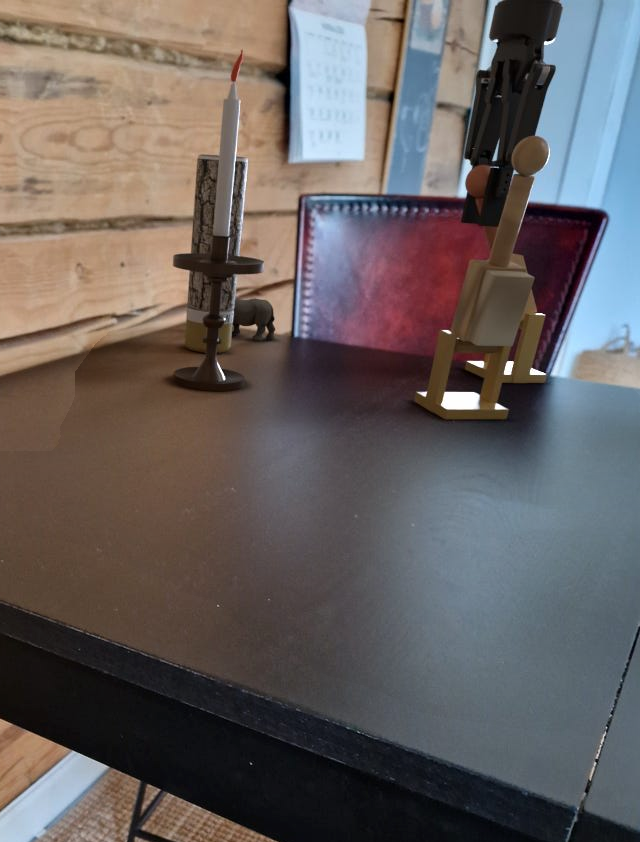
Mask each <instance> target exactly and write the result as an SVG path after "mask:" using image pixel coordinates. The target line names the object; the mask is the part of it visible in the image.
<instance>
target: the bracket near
mask: <svg viewBox="0 0 640 842" xmlns="http://www.w3.org/2000/svg"><path fill="white" fill-rule="evenodd" d="M456 339H457V334H456V333H453V332H451V330H448V329H440V330H439V332H438V338H437V342H436V347H435V351H434V356H433V362H432V367H431V371H430V375H429V380H428V384H427V390H426V391H415V394H414V395H415V396H414V398H413V399H414V400H413V402H414V403H416V404H418V405H419V406H421V407H423V408H424V409H425V410H427V411H428V412H431V413H433V414H435V415H437V416H439V417H440V418H442V419H443V420H507V418H508V414H509V408H507V407H505V406H503V405H501V404H499V403H498V400H499V396H500V393H501V389H502V384H503V383H502V381H503V377H504V373H505V369H506V365H507V362H509V356H510V353H511V348H512V346H498V349H497V351H496V352H495V353H493V354H490V357H489V361H488V365H487V369H486V373H485V378H483V382H482V386H481V391H480V394H479V393H477V392H475V391H446V388H447V383H448V380H449V375H450V370H451V366H452V361H453V356H454V353H453V352H454V348H455V343H456Z"/></svg>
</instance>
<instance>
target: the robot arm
mask: <svg viewBox="0 0 640 842" xmlns="http://www.w3.org/2000/svg"><path fill="white" fill-rule="evenodd" d="M560 1H561V0H500V1H498V3H497V4H495V6H494V9H493V15H492V18H491V19H492V20H491V23H490V29H489V33H488V38H489V40H490V41H491V42H492V43H495V44H496V49H495V52H494V55H493V57H492V60H491V63H490V66H489V67H488V68H487V69H479V70H478V71H477V72H476V75H475V92H474V93H475V94H474V99H473V105H472V111H471V115H470V121H469V125H468V126H469V127H468V132H467V138H466V143H465V149H464V154H463V158H464V160H468V161H469V164H470V166H471V170H472V169H473V168H474V167H476V166H479V165H487V166H489V167H491V168H490V173H489V177H488V182H487V186H486V191H485V195H484V200H483V204H482V209H481V213H480V215H479V211H478V207H477V204H476V200H475V199H476V197H474V196H472V195H470V194H469V193H468V192H467V191H466V195H465V201H464V204H463V205H464V206H463V209H462V214H461V220H460V223H461V224H473V225H474V224H475V225H477V226H478V227H483V226H489V227H498V226H499V223H500V219H501V216H502V213H503V209H504V206H505V202H506V199H507V195H508V192H509V188H510V185H511V182H512V178H513V175H514V173H515V170H514V168H513V166H512V153H513V151H514V149H515V147H516V145H517V144H518V143H519V142H520V141H521V140H523V139H524V138H526V137H529V136H536V133H537V130H538V126H539V123H540V120H541V119H540V118H541V115H542V111H543V108H544V104H545V99H546V96H547V92H548V90H549V88H550V84H551V83H552V80H553V78H554V76H555V73H556V69H557V66H556V65H555V64H549V63H546V62H545V61H544V60H545V59H544V58H545V45H549V44H552V43H553V42H554V41H555V40H556V38H557V35H558V32H559V31H558V30H559V28H560V22H561V18H562V14H563V9H564V7H563V4H562V3H561V2H560ZM496 151H497V154H496V160H494V156H495V153H496Z"/></svg>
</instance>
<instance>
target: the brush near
mask: <svg viewBox="0 0 640 842" xmlns="http://www.w3.org/2000/svg"><path fill="white" fill-rule="evenodd" d="M549 158H550V146H549V144H548V142H547V141H546V139H545V138H543V137H542V136H539V135H535V136H529V137H526V138H524V139H523V140H521V141H520V142H519V143H518V144H517V145H516V147H515V149H514V151H513V153H512V166H513V168H514V172H516V173H513V176H512V180H511V184H510V188H509V192H508V195H507V199H506V202H505V206H504V209H503V213H502V216H501V219H500V223H499V226H498V230H497V233H496V237H495V240H494V244H493V247H492V250H491V254H490V253H489V258H488V259H489V261H488V259H470V260H469V263H468V267H467V270H466V274H465V278H464V281H463V284H462V288H461V291H460V295H459V299H458V302H457V306H456V309H455V313H454V316H453V320H452V324H451V327H450V331H451V332H453V333H456V334H457V339H456V343H455V348H454V352H453V354H485V353H489V354H493V353H495V352H496V351H497V349H498V346H511V347H513V346H514V343H515V339H516V337H517V334H518V331H519V329H520V328H519V325H520V322H521V319H522V316H523V313H524V309H525V306H526V303H527V300H528V297H529V294H530V291H531V289H532V287H533V284H534V281H535V279H536V278H535V276H533V275H531V274H529V273H528V272H527V273H528V274H527V273H525V272H526V269H527V267H526V268H524V267H522V266H520V265H518V264H516V263H514V262H512V261H510V259H511V256H512V253H513V252H514V249H515V245H516V243H517V239H518V236H519V233H520V229H521V226H522V223H523V219H524V217H525V213H526V211H527V210H526V209H527V206H528V204H529V199H530V197H531V192H532V190H533V186H534V183H535V180H536V176H534V175H536V174H539V172H541V171H542V170H543V169H544V167H546V165H547V163H548V161H549Z"/></svg>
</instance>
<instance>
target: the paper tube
mask: <svg viewBox="0 0 640 842" xmlns="http://www.w3.org/2000/svg"><path fill="white" fill-rule="evenodd" d="M218 165H219V154H203V153H202V154H198V156H197V159H196V172H195V185H194V188H195V189H194V201H193V218H192V231H191V245H190V253H206V254H211V242H212V236H209V235H206V234H204V233H213V228H214V215H215V202H216V190H217V177H218ZM248 166H249V159H248V157H245V156H236V159H235V171H234V182H233V193H232V205H231V216H230V228H229V234H232V235H237V236H236V237H230V238H229V249H228V255H234V256H240V253H241V252H240V251H241V241H242V240H241V239H242V230H243V219H244V210H245V209H244V208H245V200H246V189H247V177H248ZM188 274H189V275H188V289H187V303H186V305H187V306H186V320H185V335H184V345H185V347H186V348H187V349H188V350H190V351H193V352H196V353H197V352H198V353H203V354H206V343H203V342H202V339H203V338H206V333H207V327H205V326H204V324H203V321H202V319H203V317H204V316H205V315H207V314H209V306H210V293H211V282H210V281H208V280H206V277H205V276H204V275H202V274H201V272H196V271H189V273H188ZM237 283H238V275H236V274H235V276H234V277H231V278H228V281H227V282H224V283H222V293H221V305H220V315H222V316H223V317H224V318H225V323H224V325H223V327H222V328H219V338H218V339H221V340H222V343H221V344H217V352H216V354H221V353H225V352H228V351H229V350H230V348H231V346H232V345H231V343H232V336H233V335H232V331H233V329H232V324H233V316H234V305H235V297H236V293H237ZM231 335H232V336H231Z"/></svg>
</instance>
